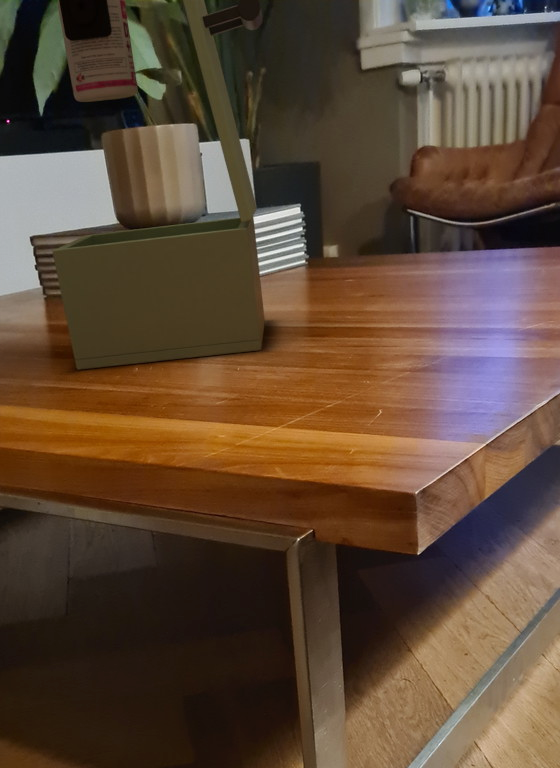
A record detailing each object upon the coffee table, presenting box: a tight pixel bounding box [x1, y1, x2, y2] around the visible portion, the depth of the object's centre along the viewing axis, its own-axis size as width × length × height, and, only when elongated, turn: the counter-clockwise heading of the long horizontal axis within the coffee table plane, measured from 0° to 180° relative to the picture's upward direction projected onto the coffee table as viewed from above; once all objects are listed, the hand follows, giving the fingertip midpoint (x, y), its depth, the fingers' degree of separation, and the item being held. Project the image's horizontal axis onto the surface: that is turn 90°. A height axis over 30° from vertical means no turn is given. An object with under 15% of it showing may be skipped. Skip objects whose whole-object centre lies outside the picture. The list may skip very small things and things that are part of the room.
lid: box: [182, 0, 264, 222], centre depth 69 cm, size 15×13×5 cm
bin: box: [51, 216, 266, 371], centre depth 75 cm, size 15×13×9 cm
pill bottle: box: [57, 0, 139, 103], centre depth 66 cm, size 5×5×8 cm
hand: (96, 39), depth 66 cm, fingers closed on pill bottle, 4 cm apart
